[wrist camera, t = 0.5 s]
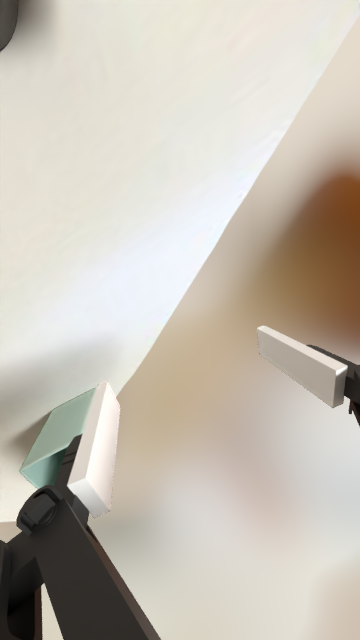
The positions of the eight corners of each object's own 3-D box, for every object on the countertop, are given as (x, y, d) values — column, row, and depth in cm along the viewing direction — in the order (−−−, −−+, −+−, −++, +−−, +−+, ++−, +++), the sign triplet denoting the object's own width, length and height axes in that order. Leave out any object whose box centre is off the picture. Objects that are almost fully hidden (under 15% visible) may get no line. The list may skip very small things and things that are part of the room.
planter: (61, 381, 41) (2, 477, 22) (97, 387, 43) (71, 478, 25) (44, 436, 44) (-21, 560, 25) (78, 439, 46) (42, 553, 28)
